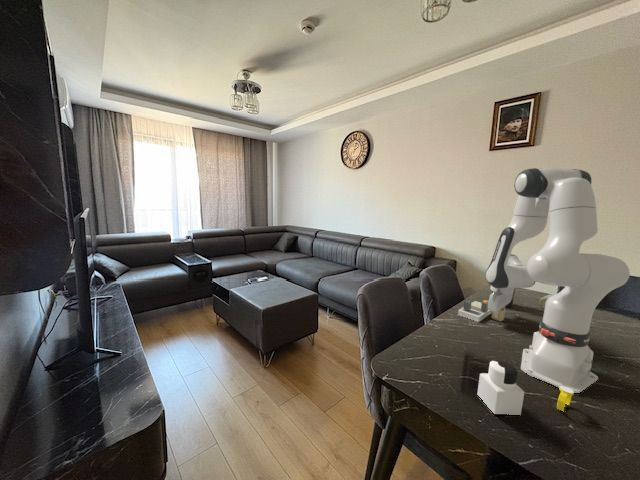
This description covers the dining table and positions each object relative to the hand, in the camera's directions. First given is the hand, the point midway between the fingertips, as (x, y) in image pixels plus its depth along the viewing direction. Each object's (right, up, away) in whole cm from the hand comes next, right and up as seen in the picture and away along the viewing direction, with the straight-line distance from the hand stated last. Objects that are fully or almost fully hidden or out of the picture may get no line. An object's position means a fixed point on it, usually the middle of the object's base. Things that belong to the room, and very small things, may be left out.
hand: (498, 315), depth 120 cm
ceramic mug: (+36, -1, +11) cm, 38 cm away
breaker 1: (-13, +2, +3) cm, 14 cm away
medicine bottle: (-37, -9, -52) cm, 64 cm away
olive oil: (+14, +1, +18) cm, 23 cm away
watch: (-20, -10, -52) cm, 57 cm away
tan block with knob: (0, -2, 0) cm, 2 cm away
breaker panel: (-7, -1, +6) cm, 9 cm away
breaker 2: (-5, +1, +2) cm, 6 cm away
